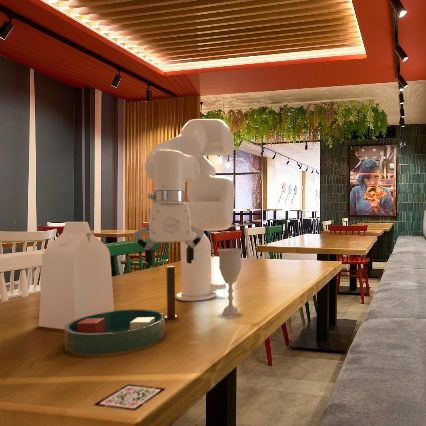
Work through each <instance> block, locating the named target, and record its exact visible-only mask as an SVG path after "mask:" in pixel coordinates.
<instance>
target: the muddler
mask: <svg viewBox="0 0 426 426" xmlns="http://www.w3.org/2000/svg"><path fill="white" fill-rule="evenodd" d="M165 268H166V269H165V271H166V273H165V274H166V276H165V277H166V279H165V281H166V283H165V284H166V315H164V316H165V321H175V320H178V315H177V314H176V267H175V265H168V266H166V267H165Z"/></svg>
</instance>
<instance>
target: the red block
mask: <svg viewBox="0 0 426 426" xmlns="http://www.w3.org/2000/svg"><path fill="white" fill-rule="evenodd" d="M77 332H78V333H105V318H87V319H85V320H83V321H81V322H79V323H77Z"/></svg>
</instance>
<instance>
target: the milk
mask: <svg viewBox="0 0 426 426" xmlns="http://www.w3.org/2000/svg"><path fill="white" fill-rule="evenodd" d="M111 262H112V261H111V252H110V249H109V247H107V245H106V244H105V243H104V242H102V241H101V240H100V239H99V238H98V237H97V236H95V234H93V233H92V231H91V228H90V225H89V222H88V221H66V222H65V224H64V226H63V229H62V233H61V234H59V235H58V236H57V237H56V238H55V239H54V240H53V241H52V242H51V243H50V244H49V245H48V246H47V247H46V248H45V250H44V251H43V253H42V256H41V270H40V271H41V273H40V291H39V292H40V294H39V296H40V297H39V313H38V314H39V318H38V319H39V320H38V327H44V328H51V329H57V330H64V328H65V326H66V325H67V324H68V323H69V322H71V321H74V320H76V319H79V318H82V317H85V316H89V315H93V314H98V313H104V312H109V311H115V305H114V302H115V301H114V292H113V275H112V264H111Z"/></svg>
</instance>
